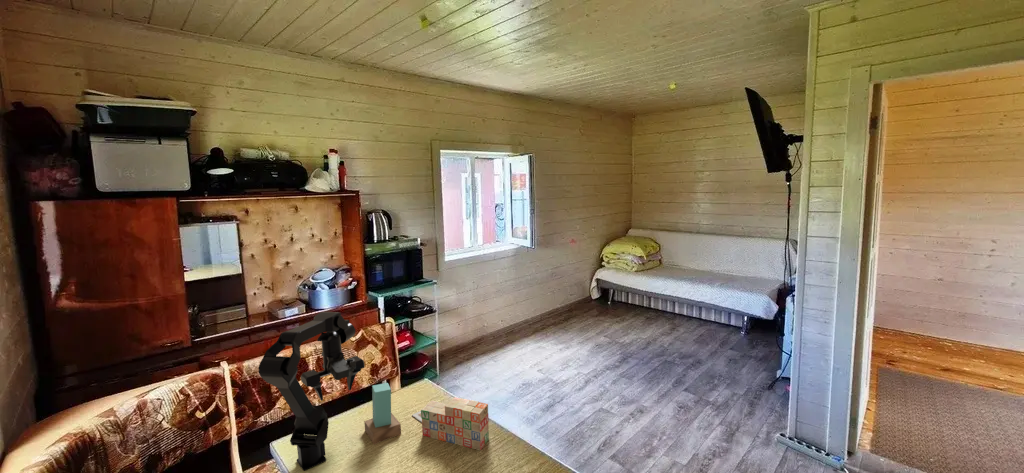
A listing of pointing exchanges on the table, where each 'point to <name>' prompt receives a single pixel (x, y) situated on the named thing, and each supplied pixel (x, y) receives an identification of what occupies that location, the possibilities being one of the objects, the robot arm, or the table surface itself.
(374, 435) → the walnut block
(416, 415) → the card
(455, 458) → the table surface
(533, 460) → the table surface
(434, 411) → the stack of blocks
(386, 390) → the teal block
